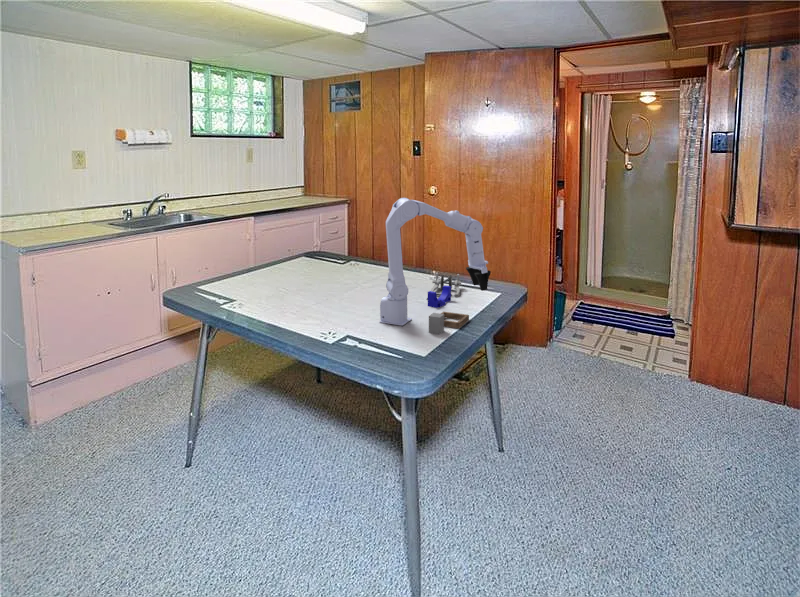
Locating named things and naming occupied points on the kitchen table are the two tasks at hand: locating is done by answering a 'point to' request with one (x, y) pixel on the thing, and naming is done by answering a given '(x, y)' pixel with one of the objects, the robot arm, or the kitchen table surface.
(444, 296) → the cable clip
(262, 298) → the kitchen table surface
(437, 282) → the bike brake
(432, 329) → the grey block
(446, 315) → the brown square frame
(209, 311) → the kitchen table surface
